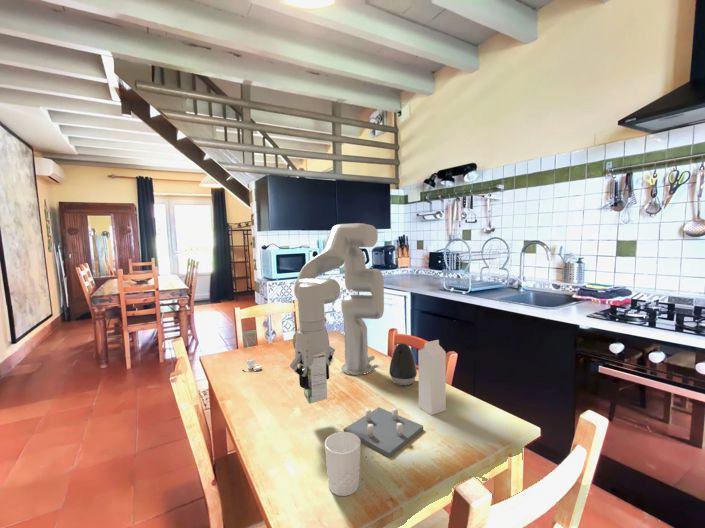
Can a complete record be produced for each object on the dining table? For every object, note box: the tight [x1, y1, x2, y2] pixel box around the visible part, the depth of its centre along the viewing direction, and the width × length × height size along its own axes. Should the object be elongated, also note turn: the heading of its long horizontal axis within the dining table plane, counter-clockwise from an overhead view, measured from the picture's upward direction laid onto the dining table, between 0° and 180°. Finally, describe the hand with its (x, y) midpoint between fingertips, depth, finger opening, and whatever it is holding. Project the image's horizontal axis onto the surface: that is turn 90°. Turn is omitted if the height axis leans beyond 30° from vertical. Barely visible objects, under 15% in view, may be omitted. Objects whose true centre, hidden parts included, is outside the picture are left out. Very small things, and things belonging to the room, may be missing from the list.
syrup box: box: [302, 352, 328, 404], centre depth 98 cm, size 6×6×14 cm
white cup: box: [324, 431, 362, 497], centre depth 73 cm, size 8×8×10 cm
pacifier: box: [246, 358, 263, 371], centre depth 142 cm, size 9×8×4 cm
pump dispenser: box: [389, 342, 418, 386], centre depth 124 cm, size 10×10×15 cm
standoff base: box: [343, 406, 424, 458], centre depth 93 cm, size 16×16×4 cm
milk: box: [417, 339, 447, 416], centre depth 104 cm, size 6×6×22 cm
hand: (314, 382), depth 98 cm, fingers closed on syrup box, 7 cm apart
